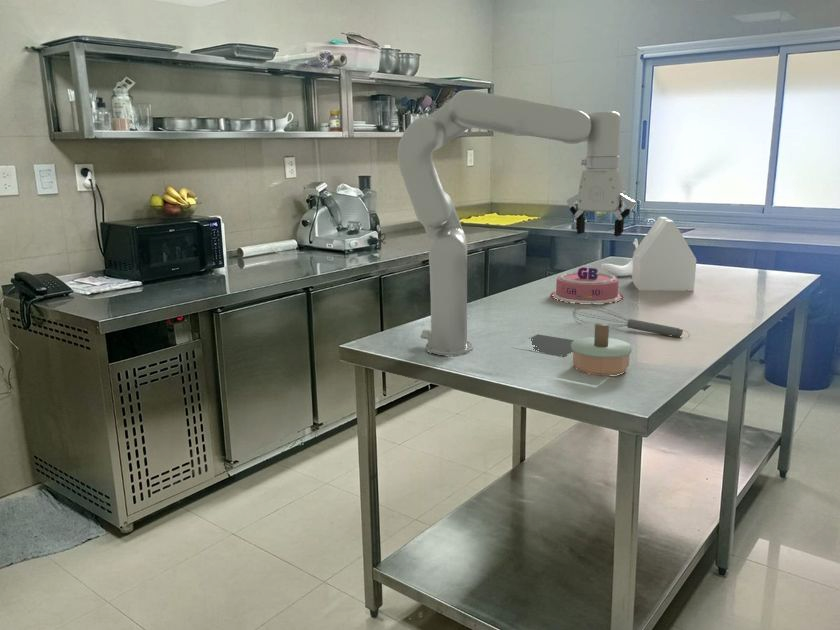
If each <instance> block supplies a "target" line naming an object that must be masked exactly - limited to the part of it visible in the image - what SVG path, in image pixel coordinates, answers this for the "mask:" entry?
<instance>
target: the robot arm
mask: <svg viewBox="0 0 840 630" xmlns="http://www.w3.org/2000/svg"><path fill="white" fill-rule="evenodd" d="M470 128H472V129H478V130H482V131H483V130H484V131H489V132H495V133H498V134H505V135H509V136H518V137H520V136H521V137H523V136H525V137H527V136H528V137H535V138H541V139H547V140H554V141H559V142H561V143H564V144H569V145H571V144H572V145H574V144H579V143H583V142H586V144H587V145H586V157H585V159H582V160H581V162H580V164H581V166H585V170H582V172H581V176H580V180H579V187H578V194H576V195H574V196H571V197H570V198H569V199H567V200H566V203H567V205H568V207H569V210H570V212H571V213H572V214H573V215H574V218H575V220H576V221H575V230H576V233H577V235H581V234H584V233H585V232H586V231H585V230H586V217H585V214H586V213H587V212H593V213H594V212H597V213H613V215H614V216H615V218H616V219H615V220H614V229H613V230H614V233H613V236H614V237H620V236H622V233H624V225H625V219H627V217H628V216H629V215H630V214H631V213H632V211H633V209H634V208H635V206H636V204H637V201H636V200H634V199H631V198H630V197H628V196H627V195H624V194H623V191H624V189H623V179H622V171H621V169H619V154H620V153H619V152H620V139H621V138H620V136H621V135H620V134H621V115H620V113H619V112H617V111H612V110H611V111H609V110H608V111H605V110H604V111H594V112H591V113H585V112H583V111H581V110H578V109H574V108H569V107H568V108H567V107H562V106H557V105H551V104H545V103H539V102H534V101H529V100H526V99H521V98H517V97H509V96H504V95H498V94H495V93H488V92H482V91H476V90H472V89H462V90H460V91H459V90H458V91H457V92H456V93H455V94H454V95H453V96H452V97H451V100H449V101H448V102H447V103H446V104H443V105H442V106H441V107H439V108H438V109H436V110H435V111H433V112H431V113H430V114H429V115H426V116H423V115H422V116H420V117H418V118H415V119H414V121H412V122H411V123H410V124H409V125H408V126H407V128H405V130H404V132H403V133H402V135H401V138H400V140H399V143H398V147H397V163H398V166H399V167H398V168H399V170H400V174H401V176H402V180H403V182H404V185H405V188H406V191H407V194H408V196H409V198H410V199H409V200H410V201H411V204H412V206H413V210H414V213H415V216H416V219H417V220H418V222H419V223H420V224H421V225H422V226H423V228H424V231H425V233H426V235H427V237H428V241H429V243H430V244H429V249H428V265H429V266H428V267H429V285H430V286H429V290H430V291H429V292H430V330H428V329H423V330H422V331H421V334H420V338H421V339H422V340H427V343H426V344H425V351H426V350H427V351H429V352H431V353H434V354H438V355H437V356H439V355H456V356H460V355H459V354H463V355H465V354H464V353H467V354H469V353H471V352H472V351H474V344H473V343H472V342H470V341H468V275H467V274H468V242H467V241H468V240H467V236H466V234H465V231H464V229H463V226H462V224H461V221H460V218H459V215H458V213H457V210H456V208H455V204H454V203H453V201H452V198H451V197H450V195H449V194H448V193H447V192H446V191H444V188H443V186H442V185H443V184H442V183H441V181H440V177H439V174H438V172H437V170H436V166H435V163H434V161H433V153H434V151H436V150H437V151H438V149H440V148H441V147H443V146H445V145H446V144H448V143H449V142H451V141H452V140H453V139H455V138H457V137H459V136H460V135H461V134H463V133H464V132H466V131H467V130H469V129H470ZM576 202H577V206H576ZM623 202H624V203H625V204H626V208H625V209H624V210H622V208H623ZM427 351H426V352H427ZM470 351H471V352H470ZM468 352H469V353H468ZM431 353H430V354H431ZM434 354H433V355H434Z"/></svg>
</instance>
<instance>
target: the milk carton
mask: <svg viewBox="0 0 840 630" xmlns="http://www.w3.org/2000/svg"><path fill="white" fill-rule="evenodd" d="M632 258H633V269H632V274H631V283H632V282H633V283H632V284H633V285H634V286H635V288H636V289H637V288H638V289H637V290H638V291H686V290H688V291H693V292H694V291H695V281H696V270H697V258H696V256H695V255H694V252H693V251H692V249H691V247H690V246H689V244H688V242H687V241H686V239H685V238H684V235H683V234H682V233H681V230H680V229H679V227H678V226H677V224H676V223H675V221H674V220H672V219H670V218H668V217H666V216H659V217H658V218H657V219H656V220H655V222H654V224H652V226H651V228H650V229H649V230H648V231H647V233H646V235H645V236H644V237H643V239H642V240H641V241H640V242H639V243H638V247H637V248H636V247H635V250H634V251H633V254H632ZM688 291H687V292H688Z"/></svg>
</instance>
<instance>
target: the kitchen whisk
mask: <svg viewBox="0 0 840 630" xmlns="http://www.w3.org/2000/svg"><path fill="white" fill-rule="evenodd" d="M582 306H584V307H583V308H580V307H582ZM589 306H590V309H591V310H594V311H598V312H601V313H602V312H603V313H605V314H607V315H612V316H613V317H617V318H619V319H622V320H618V319H613V318H608V317H605V316H603V318H602V316H600V315H598V317H600V318H598V317H597V315H595V314H592V313H590V314H589V313H586V312H583V314H582V312H580V311H578V310H584V309H585V310H586V309H587V310H589ZM585 307H587V308H585ZM597 307H598V308H597ZM577 308H578V309H577ZM605 310H606V311H605ZM576 311H578V312H576ZM608 311H609V312H608ZM610 312H611V313H610ZM572 313H573V314H572V317H573V318H574V321H575V322H576V323H578V324H579V325H581V323H580V322H582V323H584V322H585V323H587V324H588V323H591V324H593V322H591V321H584V320H582V319H581V320H580V319H579V318H578V317H577V316H576V315H579V316H584V317H587V318H594V319H596V317H597V319H598V320H601V318H602V320H603V321H607V320H608V321H610V322H612V321H614V322H616V323H609V326H617V328H621V327H627V329H633V330H638V331H641V332H646V333H647V332H648V333H652V334H658V335H661V334H663V336H666V335H672V336H679V337H678V338H680V336H681V335H682V336H683V331H684V332H686V333H687V334H688V337H690V333H689V331H687V330H685V329H680V328H679V327H675V326H669V325H665V324H659V323H653V322H649V321H643V320H638V319H633V318H629V319H627V318H625V317H624V316H622V315H620V314H618V313H616V312H615V311H614V312H613V311H611V310H609V309H607V308H604V307H601V306H600V305H592V306H591V305H590V304H583V305H581V304H578V306H576V307H575V308H574V311H572ZM584 314H585V315H584ZM588 315H590V316H588ZM592 316H593V317H592ZM595 316H596V317H595ZM578 321H580V322H578ZM618 322H620V323H621V324H619V323H618ZM598 323H599V322H595V324H598ZM617 323H618V324H617Z"/></svg>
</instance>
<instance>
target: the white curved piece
mask: <svg viewBox="0 0 840 630" xmlns="http://www.w3.org/2000/svg"><path fill="white" fill-rule="evenodd" d="M632 245H634V247H635V249H636V248H637V247H638V245H639V241H638V239H637V238H634V240H633V242H632ZM600 267H601V269H603V271H605V272H606V273H607V274H610V275H612V276H615V277H627V276H630V275H631V276H632V269H633V257H632V258H631V260H630V261H629V262H628V263H627V264H625V265H618V264H612V263H601V265H600Z"/></svg>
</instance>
